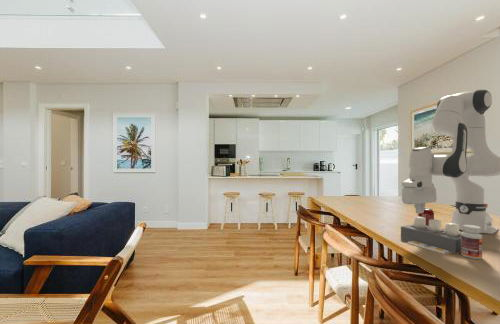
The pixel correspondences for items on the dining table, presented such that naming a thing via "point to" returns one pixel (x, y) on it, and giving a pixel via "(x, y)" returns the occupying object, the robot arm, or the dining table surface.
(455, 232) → the button
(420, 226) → the cream oval piece
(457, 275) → the dining table surface
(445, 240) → the grey egg tray
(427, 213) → the soda can
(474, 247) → the pill bottle
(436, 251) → the card
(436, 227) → the cream white egg
